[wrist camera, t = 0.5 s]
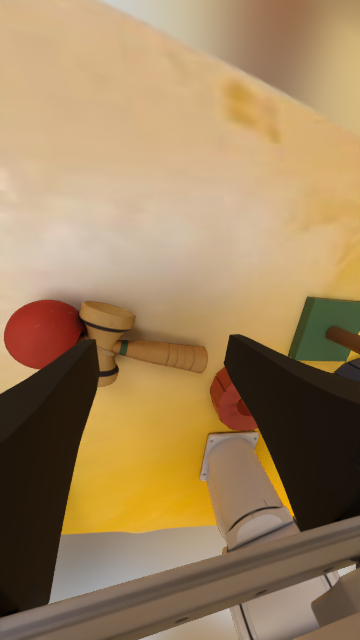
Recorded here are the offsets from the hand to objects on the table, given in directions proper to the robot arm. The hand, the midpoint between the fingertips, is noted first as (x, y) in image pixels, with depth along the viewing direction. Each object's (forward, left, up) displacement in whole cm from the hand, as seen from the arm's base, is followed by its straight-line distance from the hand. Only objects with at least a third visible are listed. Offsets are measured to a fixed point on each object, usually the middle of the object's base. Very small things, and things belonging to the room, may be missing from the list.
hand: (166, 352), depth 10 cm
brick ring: (-11, -12, -11) cm, 19 cm away
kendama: (-4, +3, -11) cm, 12 cm away
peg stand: (-2, -22, -11) cm, 24 cm away
